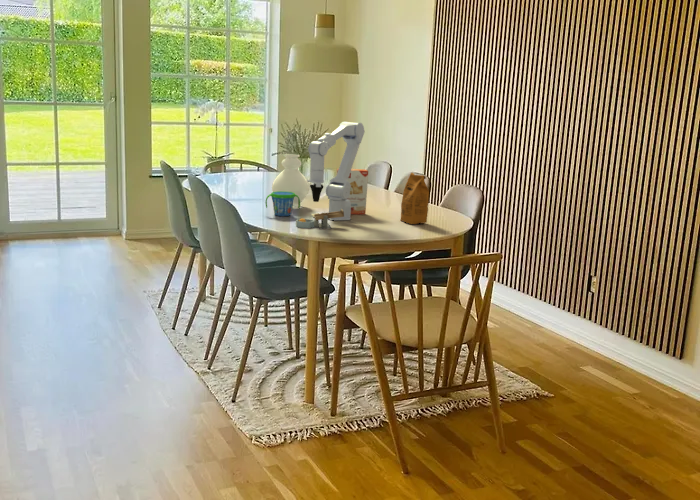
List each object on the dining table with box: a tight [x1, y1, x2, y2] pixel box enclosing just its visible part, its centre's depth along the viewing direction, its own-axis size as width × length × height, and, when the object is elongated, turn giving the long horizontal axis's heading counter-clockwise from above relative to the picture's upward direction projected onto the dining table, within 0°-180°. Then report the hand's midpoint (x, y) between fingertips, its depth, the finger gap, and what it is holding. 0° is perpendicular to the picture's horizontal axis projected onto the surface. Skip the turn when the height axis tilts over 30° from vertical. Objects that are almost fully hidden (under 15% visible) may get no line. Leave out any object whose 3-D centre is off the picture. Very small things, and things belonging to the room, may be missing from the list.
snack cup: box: [264, 191, 301, 217], centre depth 337 cm, size 16×10×10 cm
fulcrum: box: [313, 216, 332, 229], centre depth 317 cm, size 7×9×5 cm
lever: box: [311, 209, 344, 221], centre depth 319 cm, size 12×12×3 cm
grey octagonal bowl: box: [295, 218, 315, 229], centre depth 316 cm, size 7×7×2 cm
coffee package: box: [400, 172, 430, 225], centre depth 334 cm, size 10×12×22 cm
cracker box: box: [335, 168, 369, 216], centre depth 349 cm, size 14×6×21 cm, turn 105°
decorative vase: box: [271, 153, 310, 210], centre depth 359 cm, size 18×18×25 cm
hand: (315, 201), depth 321 cm, fingers closed
